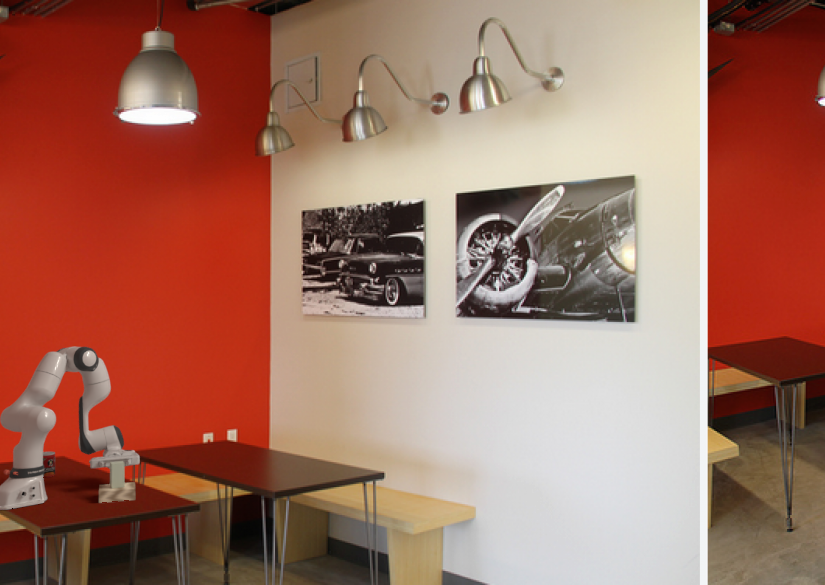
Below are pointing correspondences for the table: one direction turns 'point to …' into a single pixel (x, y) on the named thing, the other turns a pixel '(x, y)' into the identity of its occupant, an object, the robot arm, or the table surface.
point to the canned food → (49, 464)
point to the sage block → (117, 474)
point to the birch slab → (117, 493)
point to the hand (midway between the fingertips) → (115, 464)
